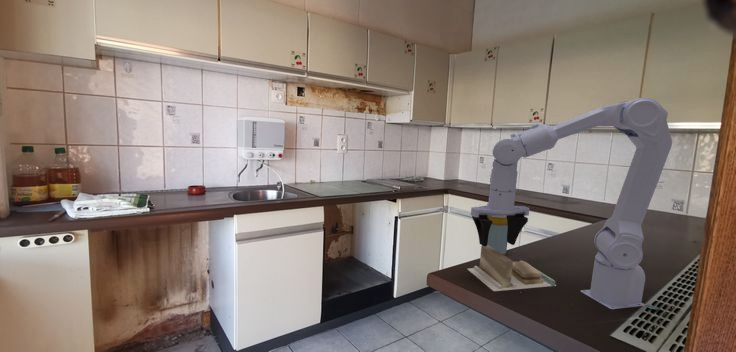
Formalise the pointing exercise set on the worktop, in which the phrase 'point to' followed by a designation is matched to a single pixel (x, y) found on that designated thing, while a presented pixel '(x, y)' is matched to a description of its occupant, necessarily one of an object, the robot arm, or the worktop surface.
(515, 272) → the offcut stack
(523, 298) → the worktop surface
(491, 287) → the board
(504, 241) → the bottle
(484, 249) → the birch panel
